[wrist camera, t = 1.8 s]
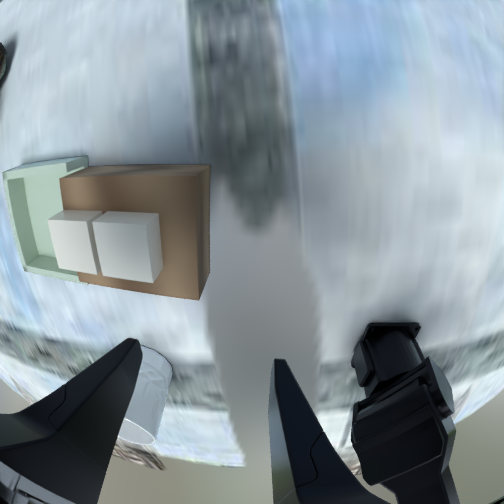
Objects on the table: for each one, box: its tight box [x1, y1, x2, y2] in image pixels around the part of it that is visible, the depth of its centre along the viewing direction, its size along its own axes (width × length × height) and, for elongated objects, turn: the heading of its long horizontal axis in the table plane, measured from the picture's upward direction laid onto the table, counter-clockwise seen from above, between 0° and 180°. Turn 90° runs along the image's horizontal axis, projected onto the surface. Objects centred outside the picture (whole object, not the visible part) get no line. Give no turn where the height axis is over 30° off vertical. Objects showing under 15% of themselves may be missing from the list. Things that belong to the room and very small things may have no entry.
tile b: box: [48, 210, 103, 275], centre depth 17 cm, size 4×4×2 cm
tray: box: [2, 156, 89, 285], centre depth 20 cm, size 10×11×3 cm
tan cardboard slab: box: [59, 164, 210, 300], centre depth 19 cm, size 11×9×4 cm
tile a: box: [92, 211, 163, 283], centre depth 17 cm, size 4×4×2 cm
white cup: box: [118, 346, 173, 445], centre depth 26 cm, size 8×8×10 cm
